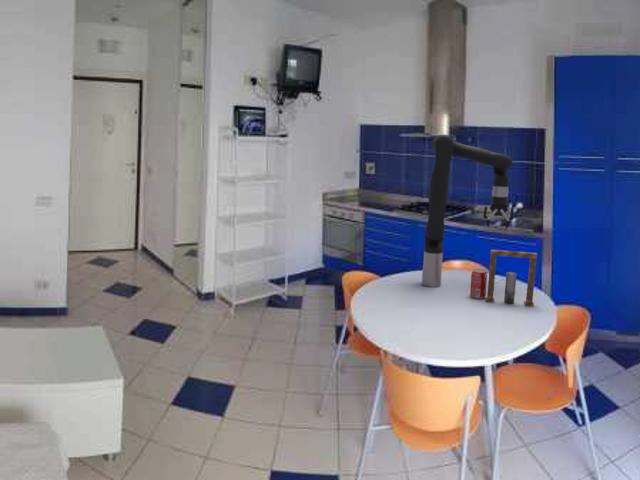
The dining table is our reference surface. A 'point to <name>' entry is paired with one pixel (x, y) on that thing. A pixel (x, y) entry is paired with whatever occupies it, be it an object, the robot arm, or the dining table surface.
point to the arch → (530, 277)
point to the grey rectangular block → (510, 287)
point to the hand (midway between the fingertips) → (497, 227)
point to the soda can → (478, 283)
